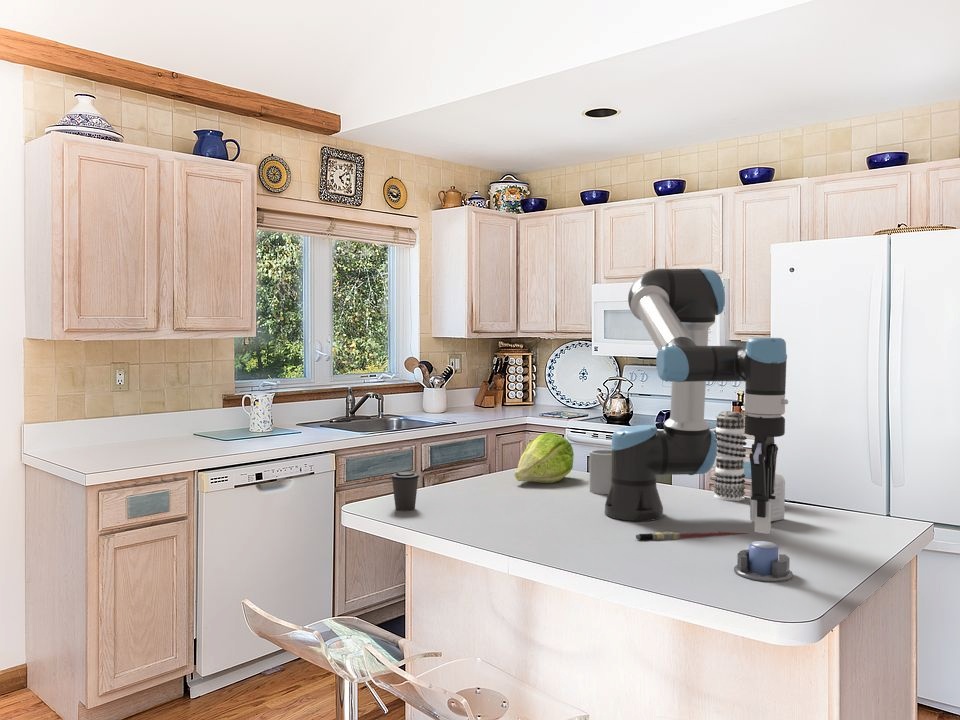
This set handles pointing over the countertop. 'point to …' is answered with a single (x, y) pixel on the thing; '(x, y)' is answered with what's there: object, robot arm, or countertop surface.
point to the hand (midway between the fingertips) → (762, 531)
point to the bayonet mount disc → (778, 575)
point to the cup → (600, 471)
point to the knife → (680, 535)
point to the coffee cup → (405, 490)
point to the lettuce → (545, 459)
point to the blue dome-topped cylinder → (762, 557)
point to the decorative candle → (730, 456)
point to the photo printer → (776, 504)
